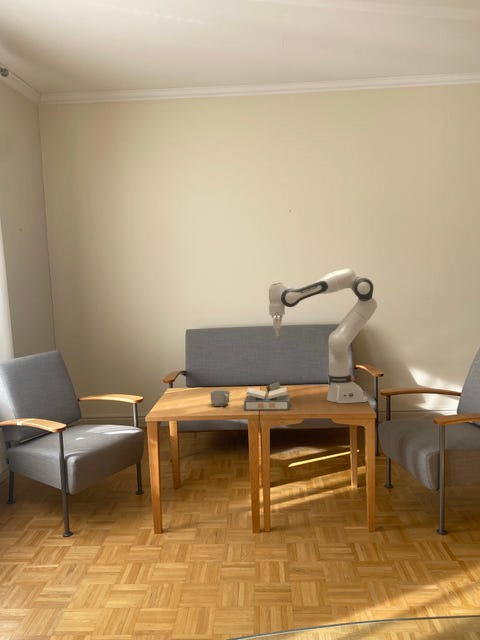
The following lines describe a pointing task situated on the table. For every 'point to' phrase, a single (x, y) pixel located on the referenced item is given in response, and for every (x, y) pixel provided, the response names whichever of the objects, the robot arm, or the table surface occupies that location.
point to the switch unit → (267, 403)
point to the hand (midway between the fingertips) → (277, 335)
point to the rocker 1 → (256, 393)
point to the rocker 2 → (277, 392)
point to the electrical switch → (273, 387)
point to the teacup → (219, 397)
